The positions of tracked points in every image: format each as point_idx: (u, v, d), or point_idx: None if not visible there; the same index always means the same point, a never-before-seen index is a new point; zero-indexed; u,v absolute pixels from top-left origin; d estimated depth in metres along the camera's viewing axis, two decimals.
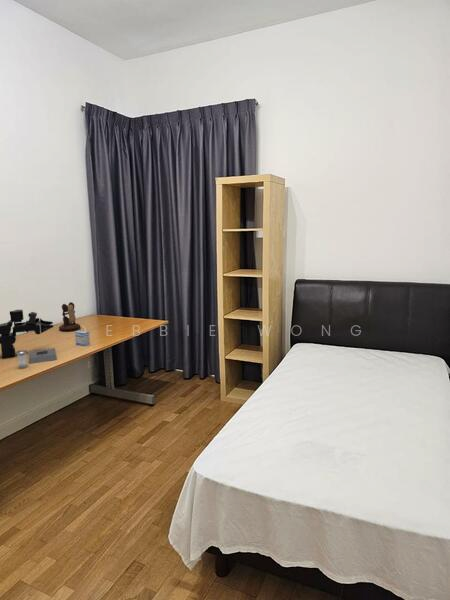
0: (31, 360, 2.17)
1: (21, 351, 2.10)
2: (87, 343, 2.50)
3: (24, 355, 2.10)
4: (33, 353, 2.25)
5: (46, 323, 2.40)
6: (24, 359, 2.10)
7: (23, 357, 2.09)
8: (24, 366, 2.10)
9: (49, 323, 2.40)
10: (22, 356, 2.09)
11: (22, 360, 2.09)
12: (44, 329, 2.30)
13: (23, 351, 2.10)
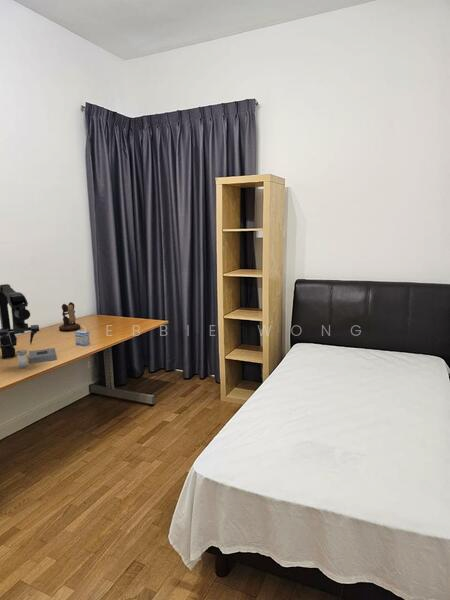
0: (31, 360, 2.17)
1: (21, 351, 2.10)
2: (87, 343, 2.50)
3: (24, 355, 2.10)
4: (33, 353, 2.25)
5: (30, 338, 2.11)
6: (24, 359, 2.10)
7: (23, 357, 2.09)
8: (24, 366, 2.10)
9: (30, 341, 2.11)
10: (22, 356, 2.09)
11: (22, 360, 2.09)
12: None
13: (23, 351, 2.10)
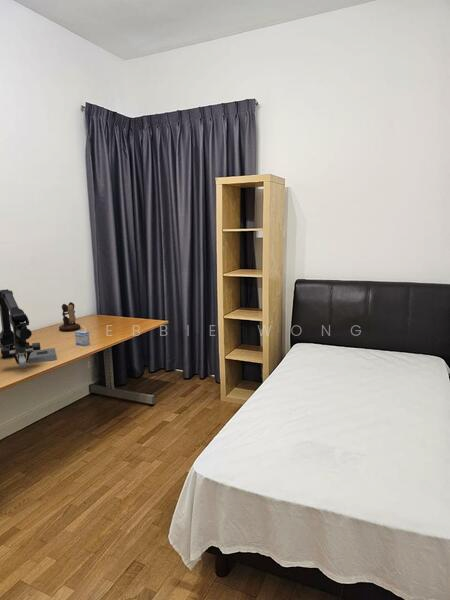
0: (31, 360, 2.17)
1: None
2: (87, 343, 2.50)
3: (24, 355, 2.10)
4: (33, 353, 2.25)
5: None
6: (24, 359, 2.10)
7: (23, 357, 2.09)
8: (24, 366, 2.10)
9: None
10: (22, 356, 2.09)
11: (22, 360, 2.09)
12: None
13: None
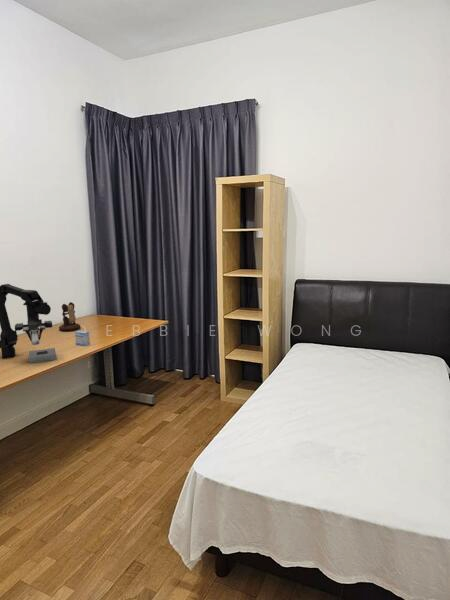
0: (31, 360, 2.17)
1: None
2: (87, 343, 2.50)
3: (37, 332, 2.18)
4: (33, 353, 2.25)
5: (39, 333, 2.20)
6: (36, 336, 2.18)
7: (35, 334, 2.18)
8: (36, 343, 2.19)
9: (39, 336, 2.21)
10: (35, 332, 2.17)
11: (35, 337, 2.18)
12: None
13: None
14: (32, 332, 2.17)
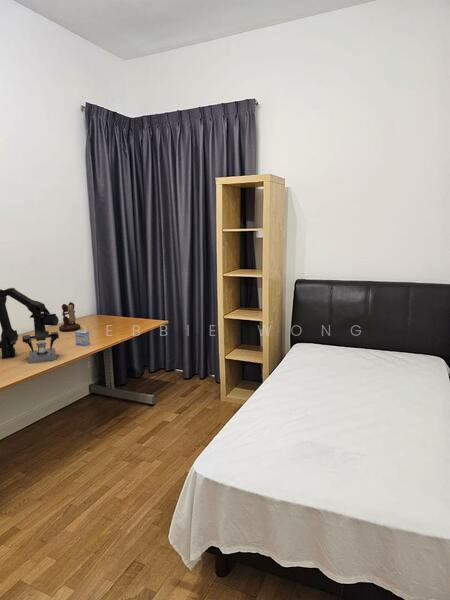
0: (31, 360, 2.17)
1: (41, 343, 2.25)
2: (87, 343, 2.50)
3: (44, 346, 2.24)
4: (33, 353, 2.25)
5: (50, 344, 2.27)
6: (44, 350, 2.25)
7: (43, 348, 2.24)
8: None
9: (50, 347, 2.28)
10: (42, 347, 2.24)
11: (42, 351, 2.24)
12: None
13: (43, 343, 2.25)
14: (39, 347, 2.23)
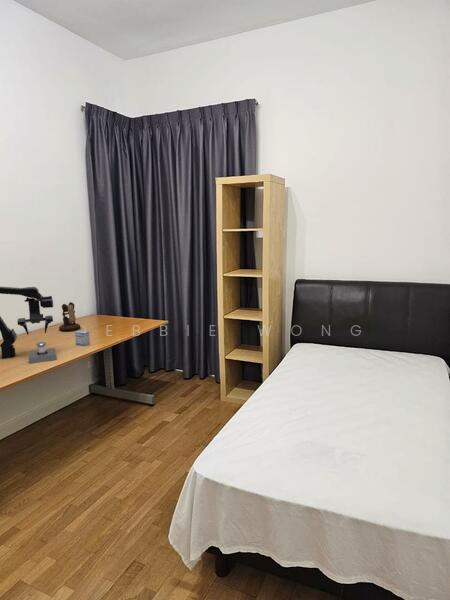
0: (31, 360, 2.17)
1: (41, 343, 2.25)
2: (87, 343, 2.50)
3: (44, 346, 2.24)
4: (33, 353, 2.25)
5: None
6: (44, 350, 2.25)
7: (43, 348, 2.24)
8: None
9: None
10: (42, 347, 2.24)
11: (42, 351, 2.24)
12: None
13: (43, 343, 2.25)
14: (39, 347, 2.23)
